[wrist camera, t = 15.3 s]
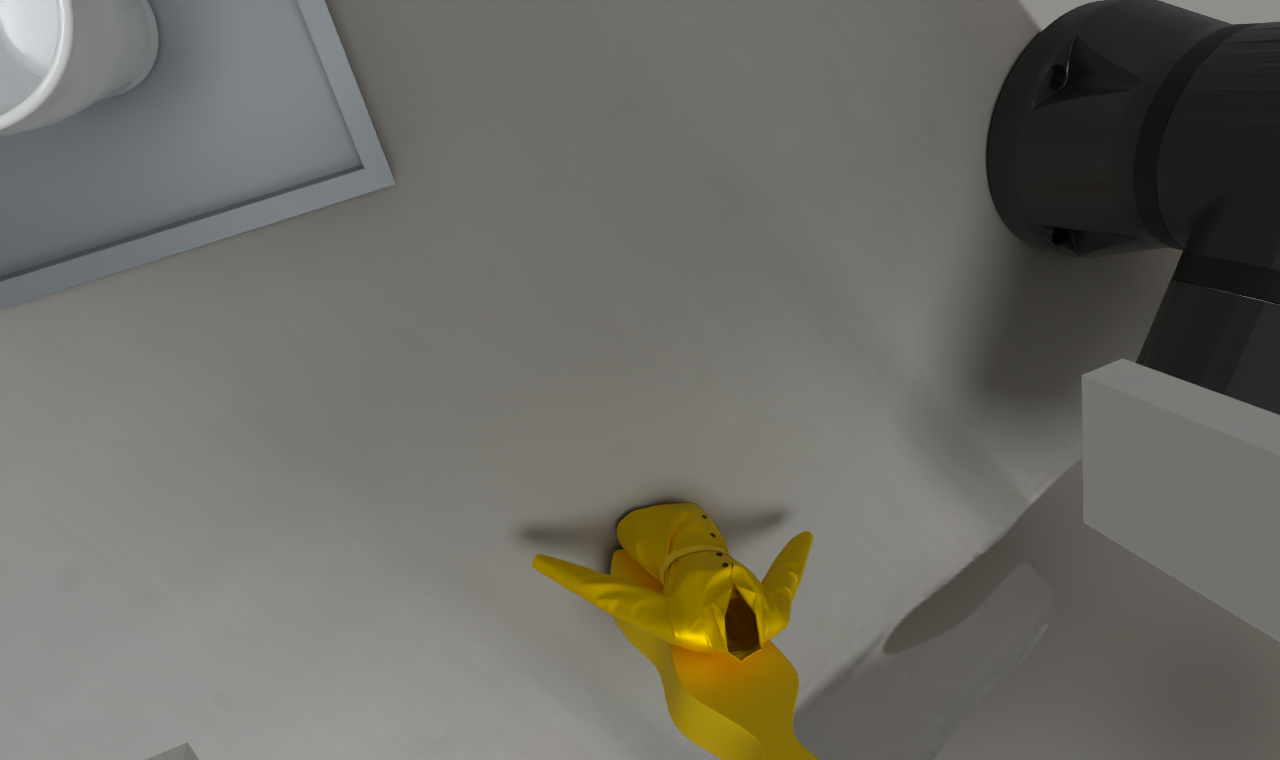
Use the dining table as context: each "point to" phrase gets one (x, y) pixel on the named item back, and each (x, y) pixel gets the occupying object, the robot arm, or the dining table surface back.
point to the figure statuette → (703, 627)
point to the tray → (190, 147)
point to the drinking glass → (69, 57)
